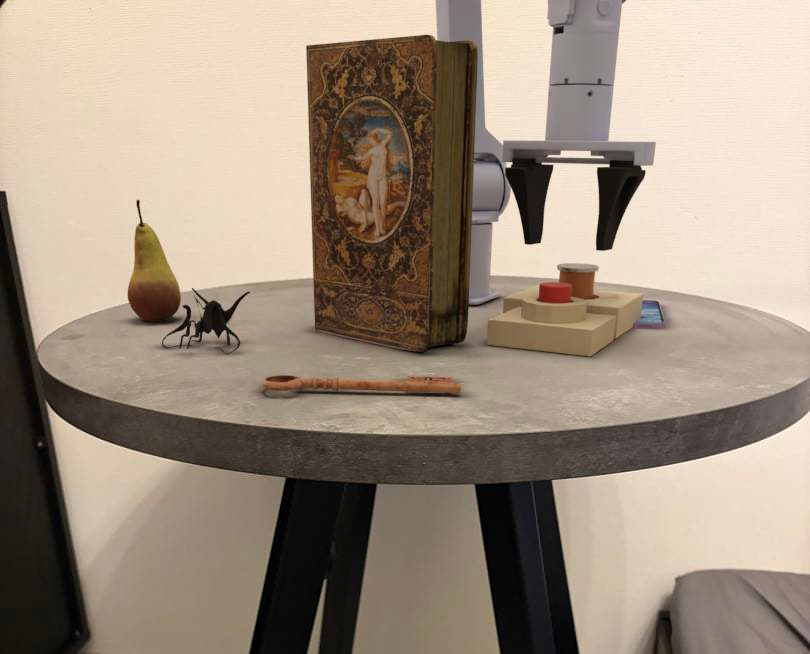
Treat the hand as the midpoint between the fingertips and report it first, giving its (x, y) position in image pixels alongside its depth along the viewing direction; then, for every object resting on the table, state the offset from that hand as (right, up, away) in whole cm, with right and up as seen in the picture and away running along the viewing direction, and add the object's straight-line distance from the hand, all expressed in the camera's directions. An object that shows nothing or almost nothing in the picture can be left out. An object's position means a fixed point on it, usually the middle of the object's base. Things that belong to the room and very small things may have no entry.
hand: (567, 246), depth 83 cm
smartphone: (+10, -3, +15) cm, 18 cm away
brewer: (+2, -5, +9) cm, 10 cm away
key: (-19, -17, -16) cm, 30 cm away
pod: (+2, -5, +9) cm, 10 cm away
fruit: (-42, -5, +9) cm, 43 cm away
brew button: (-2, -6, -1) cm, 6 cm away
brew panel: (-2, -9, 0) cm, 9 cm away
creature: (-34, -11, -3) cm, 36 cm away
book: (-18, -9, +2) cm, 20 cm away
